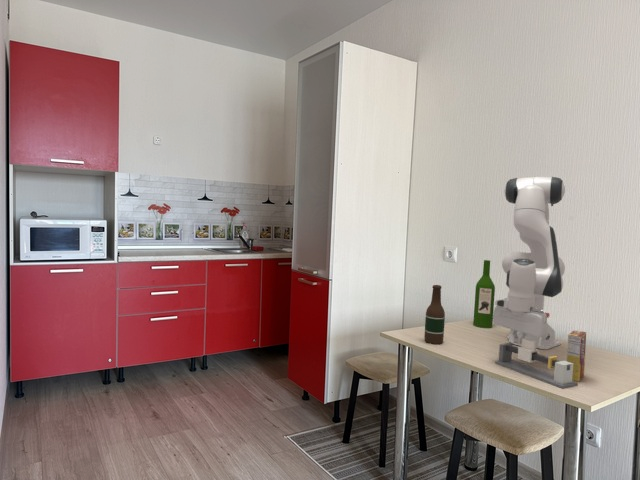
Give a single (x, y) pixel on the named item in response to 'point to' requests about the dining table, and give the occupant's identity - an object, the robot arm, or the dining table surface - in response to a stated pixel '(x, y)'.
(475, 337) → the dining table surface
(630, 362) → the dining table surface
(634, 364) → the dining table surface
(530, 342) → the white rectangular block
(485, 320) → the wine bottle
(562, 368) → the linear slide rail
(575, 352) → the candy box
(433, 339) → the beer bottle
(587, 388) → the dining table surface
